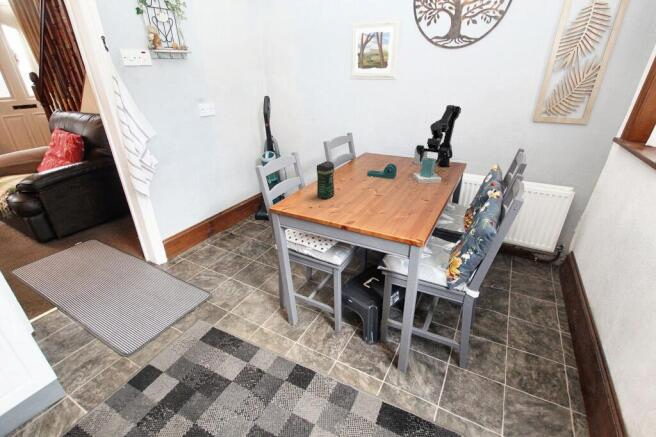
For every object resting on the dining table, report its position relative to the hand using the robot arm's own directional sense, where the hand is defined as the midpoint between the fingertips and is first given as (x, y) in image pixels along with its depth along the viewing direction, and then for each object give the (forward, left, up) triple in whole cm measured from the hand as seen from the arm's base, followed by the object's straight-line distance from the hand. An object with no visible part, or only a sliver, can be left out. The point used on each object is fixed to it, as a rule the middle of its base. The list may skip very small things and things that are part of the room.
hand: (427, 162), depth 179 cm
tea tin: (-1, -1, -8) cm, 8 cm away
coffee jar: (+62, +19, -11) cm, 66 cm away
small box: (-9, -36, -11) cm, 39 cm away
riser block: (-1, -1, -11) cm, 11 cm away
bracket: (+25, -12, -11) cm, 30 cm away
